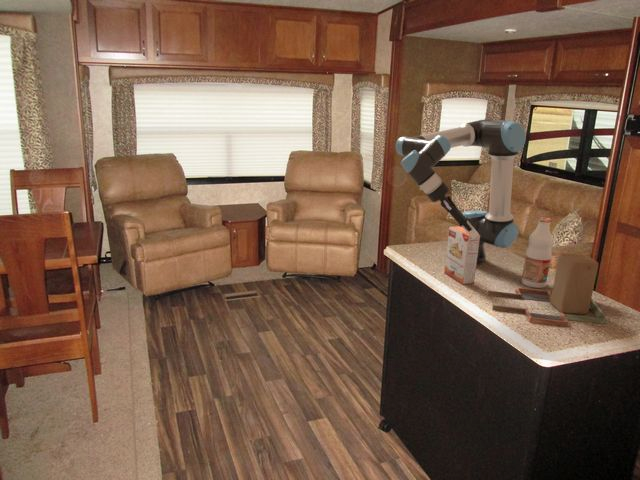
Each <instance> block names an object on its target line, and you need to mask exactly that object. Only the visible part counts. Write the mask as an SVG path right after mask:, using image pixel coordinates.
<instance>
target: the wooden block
mask: <svg viewBox="0 0 640 480" xmlns="http://www.w3.org/2000/svg"><path fill="white" fill-rule="evenodd" d="M557 259H558V260H557V266H556V269H555V270H556V271H555V275H554V281H553V286H552V291H551V294H552V296H551V302H550V303H551V304H552V305H553V307H555V308H556V309H557V311H558V312H560V314H561V313H564V314H568V315H588V314H589V311H590V308H589V307H590V302H591V298H592V297H593V293H594V287H595V283H596V278H597V276H598V275H597V274H598V270H599V262H598V261H597V260H595V259H593V258H592V257H590V256H589V255H587V254H586V253H559V255H558V258H557ZM592 299H593V298H592Z"/></svg>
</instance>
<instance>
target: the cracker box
mask: <svg viewBox="0 0 640 480" xmlns="http://www.w3.org/2000/svg"><path fill="white" fill-rule="evenodd" d="M479 242H480V235H478V236H477V237H475V238H474V239H473V238H472V237H471V236H470V235H469V234H468V233H467V231H466V230H465V229H464V228H463V227H462V226H461V227H460V226H459V225H458V226H457V225H455V226H454V225H453V226H449V229H448V237H447V248H446V254H445V255H446V256H445V264H444V273H445V274H446V275H448V276H449V277H451V278H452V279H454V280H455V281H457V282H458V283H460V284H461V285H468V284H474V283H475V277H476V270H477V265H478V264H477V257H478V249H479Z"/></svg>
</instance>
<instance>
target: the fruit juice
mask: <svg viewBox="0 0 640 480" xmlns="http://www.w3.org/2000/svg"><path fill="white" fill-rule="evenodd" d="M537 222H538V224H537V225H536V228H535V229H534V230H533V232H531V234H530V235H529V238H528V247H527V248H526V251H525V257H524V265H523V269H522V275H521V283H522V284H523V285H525V286H527V287H530V288H534V289H535V288H536V289H542V288H545V287H546V284H547V281H548V275H549V269H550V264H551V260H552V253H553V252H552V247H553V245H554V236H553V235H552V233H551V226H550V225H551V224H552V218H550V217H545V216H544V217H543V216H541V217H538V218H537Z"/></svg>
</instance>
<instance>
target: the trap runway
mask: <svg viewBox="0 0 640 480" xmlns="http://www.w3.org/2000/svg"><path fill="white" fill-rule="evenodd" d="M514 292H515V293H513V292H505V291H504V292H503V291H496V290H495V291H493V290H487V296H493V297H494V296H495V297H504V298H512V299H519V300H530V301H538V302H547V303H551V296H552V292H551V291H550V290H545V289H544V290H543V289H537V288H536V289H535V288H534V289H533V288H526V287H515V290H514ZM491 309H492V311H493V310H494V311H500V312H501V311H502V312H509V313H510V312H511V313H519V314H525V316H526V319H527V320H528V322H529V323H533V324H534V323H535V324H545V325H552V326H559V327H566V328H567V327H569V326H570V321H577V322H579V321H580V322H587V323H588V322H589V323H595V324H602V323H604V324H605V322H606V321H605V320H606V317H607V315H606V314H605V313H604V312H603V311H602V309H601V308H600V307H599V305H598V304H597V303H596V302H595V300H594V299H593V298H591V302H590V308H589V310H591V312H592V311H593V312H592V313H593V314H594V316H595V315H596V316H595V317H591V316H584V315H577V314H569V313H561V312H560V315H553V314H552V315H551V314H545V313H536V312H530V310H529V308H523V307H513V306H507V305H498V304H492V308H491Z"/></svg>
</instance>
